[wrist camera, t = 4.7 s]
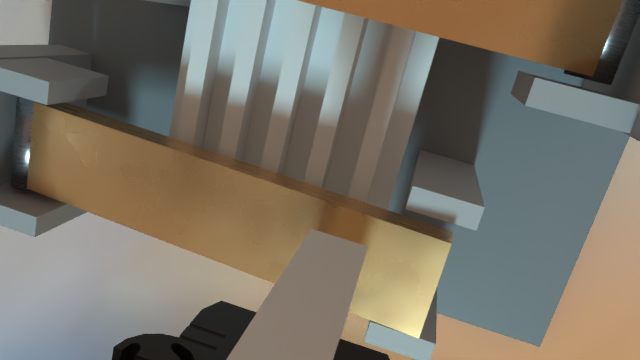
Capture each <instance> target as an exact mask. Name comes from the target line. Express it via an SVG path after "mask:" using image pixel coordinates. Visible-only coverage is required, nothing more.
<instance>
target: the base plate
mask: <svg viewBox="0 0 640 360" xmlns="http://www.w3.org/2000/svg"><path fill="white" fill-rule="evenodd" d="M563 72H564V69H560V68H556V67H553V66H549V65H545V64H541V63H537V62H533V61H529V60H526V59H522V58H518V57H514V56H510V55H506V54H502V53H498V52H495V51H491V50H487V49H483V48H479V47H475V46H471V45H467V44H464V43H460V42H456V41H452V40H448V39H444V38H440V37H437V36H433V35H429V34H425V33H421V32H417V31H413V30H409V29H406V28H402V27H398V26H394V25H390V24H386V23H382V22H378V21H375V20H371V19H367V18H363V17H359V16H355V15H351V14H347V13H344V12H340V11H336V10H332V9H328V8H324V7H320V6H317V5H313V4H309V3H305V2H301V1H297V0H52V11H51V22H50V33H49V44H48V45H0V225H1V226H4V227H7V228H10V229H13V230H16V231H19V232H22V233H24V234H27V235H30V236H33V237H36V236H38V235H40V234H42V233H44V232H46V231H48V230H50V229H53V228H55V227H57V226H59V225H61V224H63V223H65V222H67V221H69V220H71V219H73V218H75V217H77V216H80V215H82V214H84V213H86V212H87V211H85V210H82V209H79V208H77V207H74V206H71V205H69V204H66V203H64V202H61V201H58V200H56V199H53V198H51V197H48V196H45V195H43V194H40V193H38V192H35V191H23V190H18V189H16V188H14V187H12V186H11V185H10V181H11V168H12V155H13V141H14V128H15V115H16V102H17V96H19V97H22V98H25V99H29V100H32V101H35V102H39V103H42V104H45V105H51V104H57V103H63V102H66V103H69V104H72V105H75V106H78V107H81V108H84V109H87V110H90V111H93V112H96V113H99V114H102V115H105V116H108V117H111V118H114V119H117V120H120V121H123V122H126V123H129V124H132V125H135V126H138V127H141V128H144V129H147V130H150V131H153V132H156V133H159V134H162V135H165V136H168V137H171V138H174V139H177V140H180V141H183V142H186V143H189V144H192V145H195V146H198V147H201V148H204V149H207V150H210V151H213V152H216V153H219V154H222V155H225V156H228V157H231V158H234V159H237V160H240V161H243V162H246V163H249V164H252V165H255V166H258V167H261V168H264V169H267V170H270V171H273V172H276V173H279V174H282V175H285V176H288V177H291V178H294V179H297V180H300V181H303V182H305V183H308V184H311V185H314V186H317V187H320V188H323V189H326V190H329V191H332V192H335V193H338V194H341V195H344V196H347V197H350V198H353V199H356V200H359V201H362V202H365V203H368V204H371V205H374V206H377V207H380V208H383V209H386V210H389V211H392V212H395V213H398V214H401V215H404V216H407V217H410V218H413V219H416V220H419V221H422V222H425V223H428V224H431V225H434V226H437V227H440V228H443V229H446V230H449V231H452V232H454V235H453V240H452V245H451V247H450V250H449V253H448V256H447V259H446V262H445V265H444V268H443V270H442V273H441V276H440V279H439V282H438V285H437V288H436V291H435V294H434V296H433V299H432V302H431V305H430V308H429V311H428V314H427V317H426V319H425V322H424V325H423V328H422V331H421V334H420V337H419V338H416V337H413V336H411V335H408V334H405V333H403V332H400V331H398V330H395V329H392V328H390V327H387V326H385V325H382V324H379V323H377V322H374V321H372V320H370V321H369V325H368V329H367V333H366V336H365V340H364V342H367V343H370V344H373V345H376V346H379V347H381V348H384V349H387V350H390V351H393V352H396V353H399V354H402V355H405V356H408V357H411V358H413V359H416V360H430V359H431V356H432V353H433V350H434V347H435V345H436V313H439V314H442V315H445V316H448V317H451V318H454V319H457V320H460V321H463V322H466V323H469V324H472V325H475V326H478V327H481V328H484V329H487V330H490V331H493V332H496V333H499V334H502V335H505V336H508V337H511V338H514V339H517V340H520V341H523V342H527V343H530V344H533V345H536V346H539V347H540V345H541V343H542V341H543V338H544V336H545V334H546V331H547V329H548V326H549V324H550V322H551V319H552V317H553V315H554V312H555V310H556V308H557V305H558V303H559V301H560V298H561V296H562V294H563V291H564V289H565V287H566V284H567V282H568V280H569V277H570V275H571V273H572V270H573V268H574V266H575V263H576V261H577V259H578V256H579V254H580V252H581V249H582V247H583V245H584V242H585V240H586V238H587V235H588V233H589V230H590V228H591V226H592V223H593V221H594V219H595V216H596V214H597V212H598V209H599V207H600V205H601V202H602V200H603V198H604V195H605V193H606V191H607V188H608V186H609V184H610V181H611V179H612V177H613V174H614V172H615V170H616V167H617V165H618V163H619V160H620V158H621V156H622V153H623V151H624V149H625V146H626V144H627V142H628V139H629V137H630V136H631V137H633V138H635V139H636V140H638V141H640V15H639V18H638V20H637V23H636V25H635V28H634V30H633V33H632V35H631V37H630V40H629V42H628V45H627V47H626V50H625V52H624V55H623V57H622V60H621V62H620V65H619V67H618V70H617V72H616V75H615V77H614V79H613V82H612V84H611V86H610V85H606V84H603V83H599V82H595V81H591V80H587V79H583V78H579V77H575V76H572V75H568V74H564V73H563Z"/></svg>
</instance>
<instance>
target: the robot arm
mask: <svg viewBox="0 0 640 360" xmlns="http://www.w3.org/2000/svg"><path fill="white" fill-rule="evenodd" d="M367 249H368V246H365V245H362V244H358V243H355V242H352V241H349V240H346V239H342V238H339V237H336V236H333V235H330V234H326V233H323V232H320V231H317V230H314V229H311V230H310V231H309V233H308V234H307V236H306V237H305V239H304V240H303V242H302V244H301V245H300V247H299V248H298V250H297V251H296V253H295V254H294V256H293V257H292V259H291V261H290V262H289V264H288V265H287V267H286V268H285V270H284V271H283V273H282V274H281V276H280V278H279V279H278V281H277V282H276V284H275V285H274V287H273V288H272V290H271V291H270V293H269V295H268V296H267V298H266V299H265V301H264V302H263V304H262V305H261V307H260V308H259V310H258V312H257V313H256V312H253V311H250V310H247V309H244V308H241V307H238V306H235V305H232V304H230V303H227V302H224V301H220V302H218V303H215V304H213V305H211V306H209V307H207V308H204V309H202V310H201V311H200V312H199V314H198V315H197V316H196V317H195V318H194V319H193V321H192V322H191V323H190V325H189V326H187V328H186V329H185V330H184V331H183V332H182V333H181V335H180V337H174V336H170V335H165V334H142V335H138V336H135V337H131V338H127V339H126V340H124V341H122V342H121V343H119V344H118V345H116V346H115V347H114V349H113V356H112V360H390V359H389V357H388V355H387V354H384V353H381V352H378V351H375V350H372V349H369V348H366V347H363V346H360V345H357V344H354V343H351V342H348V341H345V340H342V339H341V337H342V333H343V330H344V326H345V323H346V320H347V316H348V313H349V310H350V306H351V303H352V300H353V296H354V293H355V289H356V286H357V283H358V279H359V276H360V273H361V269H362V266H363V262H364V259H365V256H366V252H367Z"/></svg>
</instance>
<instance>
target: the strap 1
mask: <svg viewBox="0 0 640 360" xmlns="http://www.w3.org/2000/svg"><path fill="white" fill-rule="evenodd" d="M10 185H11V186H12V187H14V188H16V189H18V190H23V191H35V192H38V193H40V194H43V195H45V196H48V197H51V198H53V199H56V200H58V201H61V202H64V203H66V204H69V205H71V206H74V207H77V208H79V209H82V210H85V211H87V212H90V213H92V214H95V215H98V216H100V217H103V218H105V219H108V220H111V221H113V222H116V223H118V224H121V225H124V226H126V227H129V228H131V229H134V230H137V231H139V232H142V233H145V234H147V235H150V236H152V237H155V238H158V239H160V240H163V241H165V242H168V243H171V244H173V245H176V246H178V247H181V248H184V249H186V250H189V251H191V252H194V253H197V254H199V255H202V256H205V257H207V258H210V259H212V260H215V261H218V262H220V263H223V264H225V265H228V266H231V267H233V268H236V269H238V270H241V271H244V272H246V273H249V274H252V275H254V276H257V277H259V278H262V279H265V280H267V281H270V282H272V283H275V284H276V282H277V281H278V279H279V278H280V276H281V274H282V273H283V271H284V270H285V268H286V267H287V265H288V264H289V262H290V261H291V259H292V257H293V256H294V254H295V253H296V251H297V250H298V248H299V247H300V245H301V244H302V242H303V240H304V239H305V237H306V236H307V234H308V233H309V231H310V230H311V229H314V230H317V231H320V232H323V233H326V234H330V235H333V236H336V237H339V238H342V239H346V240H349V241H352V242H355V243H358V244H362V245H365V246H368V249H367V252H366V256H365V259H364V262H363V266H362V269H361V273H360V276H359V279H358V283H357V286H356V289H355V293H354V296H353V300H352V303H351V306H350V310H349V312H351V313H353V314H356V315H359V316H361V317H364V318H366V319H369V320H372V321H374V322H377V323H379V324H382V325H385V326H387V327H390V328H392V329H395V330H398V331H400V332H403V333H405V334H408V335H411V336H413V337H416V338H419V337H420V334H421V331H422V328H423V325H424V322H425V319H426V317H427V314H428V311H429V308H430V305H431V302H432V299H433V296H434V294H435V291H436V288H437V285H438V282H439V279H440V276H441V273H442V270H443V268H444V265H445V262H446V259H447V256H448V253H449V250H450V247H451V245H452V240H453V235H454V232H452V231H449V230H446V229H443V228H440V227H437V226H434V225H431V224H428V223H425V222H422V221H419V220H416V219H413V218H410V217H407V216H404V215H401V214H398V213H395V212H392V211H389V210H386V209H383V208H380V207H377V206H374V205H371V204H368V203H365V202H362V201H359V200H356V199H353V198H350V197H347V196H344V195H341V194H338V193H335V192H332V191H329V190H326V189H323V188H320V187H317V186H314V185H311V184H308V183H305V182H303V181H300V180H297V179H294V178H291V177H288V176H285V175H282V174H279V173H276V172H273V171H270V170H267V169H264V168H261V167H258V166H255V165H252V164H249V163H246V162H243V161H240V160H237V159H234V158H231V157H228V156H225V155H222V154H219V153H216V152H213V151H210V150H207V149H204V148H201V147H198V146H195V145H192V144H189V143H186V142H183V141H180V140H177V139H174V138H171V137H168V136H165V135H162V134H159V133H156V132H153V131H150V130H147V129H144V128H141V127H138V126H135V125H132V124H129V123H126V122H123V121H120V120H117V119H114V118H111V117H108V116H105V115H102V114H99V113H96V112H93V111H90V110H87V109H84V108H81V107H78V106H75V105H72V104H69V103H66V102H63V103H57V104H51V105H45V104H42V103H39V102H35V101H32V100H29V99H25V98H22V97H19V96H17V102H16V115H15V128H14V141H13V155H12V168H11V181H10Z"/></svg>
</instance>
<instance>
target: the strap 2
mask: <svg viewBox="0 0 640 360" xmlns="http://www.w3.org/2000/svg"><path fill="white" fill-rule="evenodd" d="M297 1H301V2H305V3H309V4H313V5H317V6H320V7H324V8H328V9H332V10H336V11H340V12H344V13H347V14H351V15H355V16H359V17H363V18H367V19H371V20H375V21H378V22H382V23H386V24H390V25H394V26H398V27H402V28H406V29H409V30H413V31H417V32H421V33H425V34H429V35H433V36H437V37H440V38H444V39H448V40H452V41H456V42H460V43H464V44H467V45H471V46H475V47H479V48H483V49H487V50H491V51H495V52H498V53H502V54H506V55H510V56H514V57H518V58H522V59H526V60H529V61H533V62H537V63H541V64H545V65H549V66H553V67H556V68H560V69H564V72H563V73H564V74H568V75H572V76H575V77H579V78H583V79H587V80H591V81H595V82H599V83H603V84H606V85H610V86H611V84H612V82H613V79H614V77H615V75H616V72H617V70H618V67H619V65H620V62H621V60H622V57H623V55H624V52H625V50H626V47H627V45H628V42H629V40H630V37H631V35H632V33H633V30H634V28H635V25H636V23H637V20H638V18H639V15H640V0H297Z"/></svg>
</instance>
